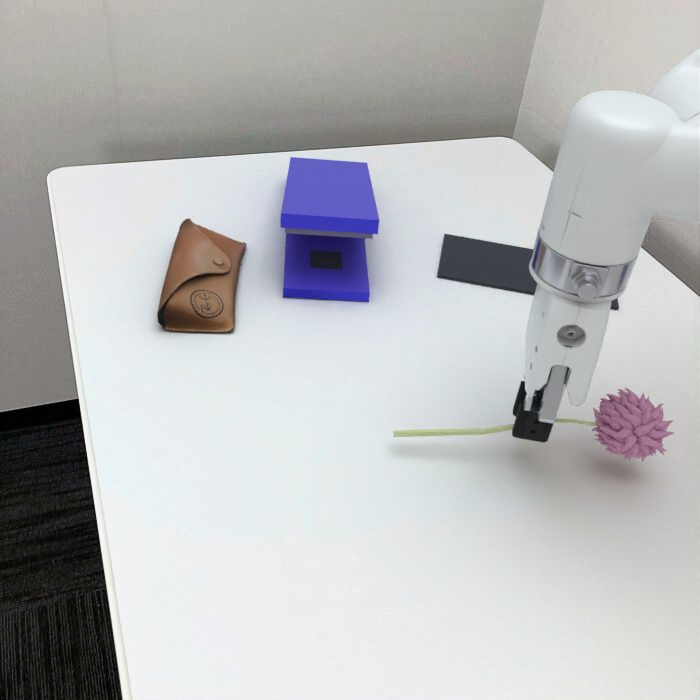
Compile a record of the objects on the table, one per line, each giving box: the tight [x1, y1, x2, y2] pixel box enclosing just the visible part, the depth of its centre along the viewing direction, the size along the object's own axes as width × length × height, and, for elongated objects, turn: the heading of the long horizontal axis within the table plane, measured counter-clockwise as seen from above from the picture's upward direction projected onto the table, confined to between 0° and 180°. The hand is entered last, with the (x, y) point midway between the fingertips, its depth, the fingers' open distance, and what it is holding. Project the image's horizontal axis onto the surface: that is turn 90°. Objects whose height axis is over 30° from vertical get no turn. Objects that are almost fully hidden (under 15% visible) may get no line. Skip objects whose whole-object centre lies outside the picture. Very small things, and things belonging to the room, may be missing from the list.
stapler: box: [279, 156, 380, 303], centre depth 97 cm, size 12×28×10 cm, turn 2°
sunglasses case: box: [156, 218, 247, 334], centre depth 88 cm, size 18×7×7 cm
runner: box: [436, 233, 620, 311], centre depth 97 cm, size 22×10×1 cm, turn 80°
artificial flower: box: [392, 387, 675, 463], centre depth 70 cm, size 7×7×25 cm
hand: (529, 426), depth 71 cm, fingers closed on artificial flower
